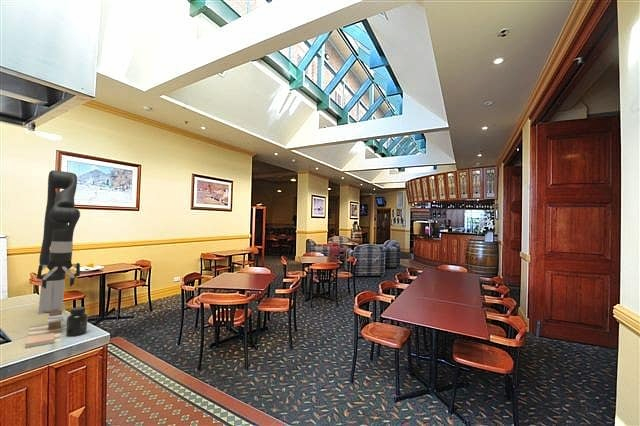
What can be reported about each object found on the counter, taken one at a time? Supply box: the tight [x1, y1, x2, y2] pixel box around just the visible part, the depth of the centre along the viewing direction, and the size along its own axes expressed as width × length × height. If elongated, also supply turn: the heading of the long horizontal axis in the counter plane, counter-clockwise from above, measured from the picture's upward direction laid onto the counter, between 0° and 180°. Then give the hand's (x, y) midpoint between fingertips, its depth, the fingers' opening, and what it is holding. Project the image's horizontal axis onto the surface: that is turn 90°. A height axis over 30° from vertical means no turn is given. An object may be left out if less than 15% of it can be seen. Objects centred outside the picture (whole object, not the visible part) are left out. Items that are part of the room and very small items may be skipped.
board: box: [27, 323, 62, 343], centre depth 120 cm, size 26×10×1 cm, turn 43°
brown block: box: [46, 309, 64, 330], centre depth 124 cm, size 11×5×7 cm, turn 43°
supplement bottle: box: [65, 306, 89, 338], centre depth 122 cm, size 7×7×12 cm
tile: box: [24, 333, 55, 349], centre depth 112 cm, size 2×8×8 cm
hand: (58, 286), depth 127 cm, fingers open, 8 cm apart
